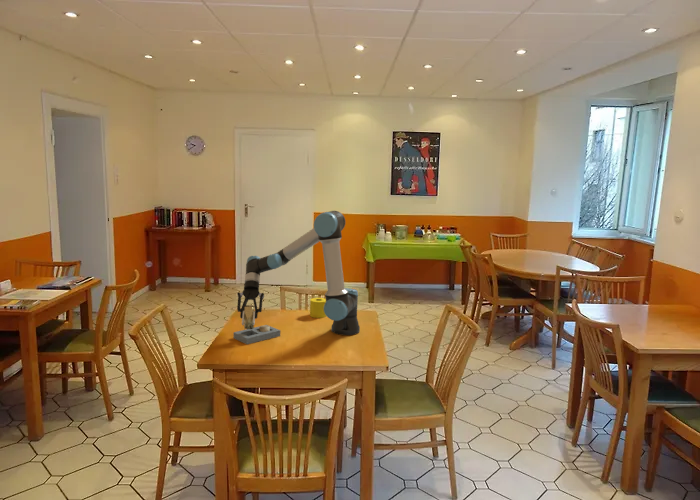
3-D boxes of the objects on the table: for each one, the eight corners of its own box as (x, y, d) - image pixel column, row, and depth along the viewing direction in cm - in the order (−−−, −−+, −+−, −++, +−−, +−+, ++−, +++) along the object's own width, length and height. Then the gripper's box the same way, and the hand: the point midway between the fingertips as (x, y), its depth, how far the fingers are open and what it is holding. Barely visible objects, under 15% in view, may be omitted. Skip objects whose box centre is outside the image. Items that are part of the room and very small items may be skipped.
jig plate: (280, 336, 259) (280, 330, 258) (247, 344, 245) (247, 338, 244) (266, 330, 267) (266, 324, 267) (233, 338, 253) (233, 332, 253)
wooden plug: (271, 335, 259) (271, 327, 258) (263, 337, 255) (263, 329, 255) (265, 332, 263) (265, 324, 262) (257, 334, 259) (257, 326, 258)
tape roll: (317, 312, 304) (317, 296, 303) (330, 315, 299) (330, 299, 297) (306, 315, 296) (306, 300, 295) (319, 319, 291) (320, 303, 289)
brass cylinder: (255, 328, 252) (255, 306, 250) (247, 329, 249) (247, 308, 247) (250, 325, 255) (250, 304, 253) (242, 327, 252) (242, 306, 250)
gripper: (269, 287, 265) (266, 327, 252) (235, 286, 264) (230, 327, 250) (268, 279, 259) (265, 320, 246) (234, 279, 258) (229, 320, 244)
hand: (248, 323), depth 248 cm, fingers closed on brass cylinder, 4 cm apart
